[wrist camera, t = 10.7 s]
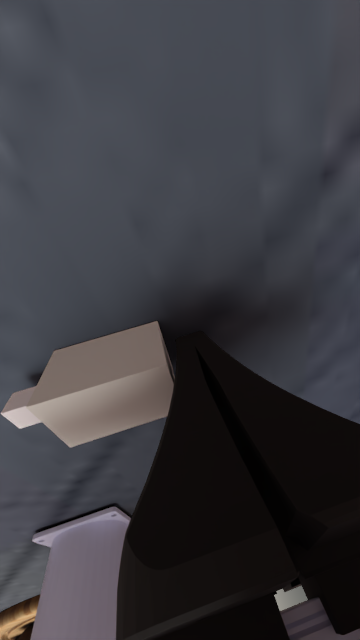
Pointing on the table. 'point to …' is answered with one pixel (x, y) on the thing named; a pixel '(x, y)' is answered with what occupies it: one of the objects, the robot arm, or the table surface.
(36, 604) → the wooden plate with food
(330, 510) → the robot arm
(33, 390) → the cable plug
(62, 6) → the table surface
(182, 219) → the table surface
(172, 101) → the table surface
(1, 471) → the table surface
